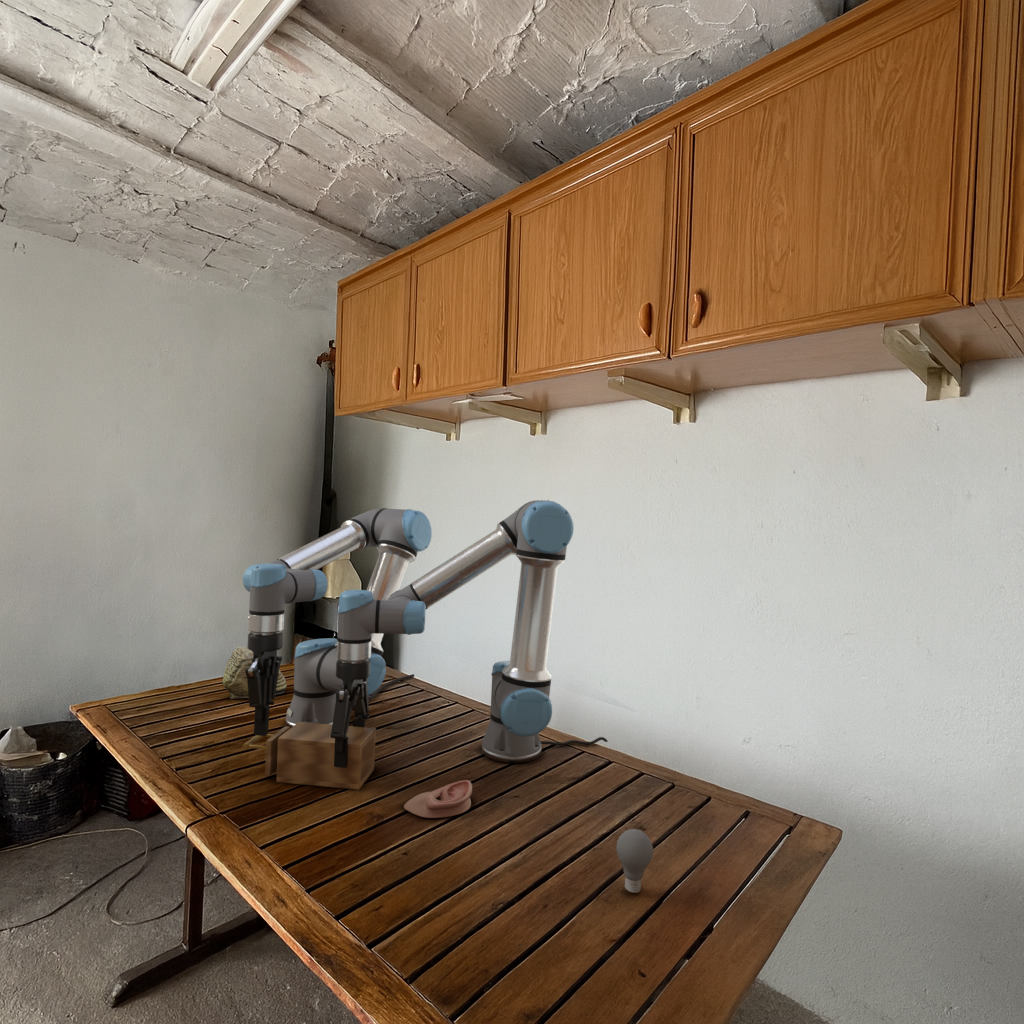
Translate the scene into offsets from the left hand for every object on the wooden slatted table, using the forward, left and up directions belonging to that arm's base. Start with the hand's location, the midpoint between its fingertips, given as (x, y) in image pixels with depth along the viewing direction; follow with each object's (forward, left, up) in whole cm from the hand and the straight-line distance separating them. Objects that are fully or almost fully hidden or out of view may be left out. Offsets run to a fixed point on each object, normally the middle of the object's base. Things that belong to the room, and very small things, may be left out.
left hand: (260, 734), depth 145 cm
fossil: (-27, -51, -8) cm, 58 cm away
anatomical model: (-16, +42, -8) cm, 45 cm away
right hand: (-12, +17, -3) cm, 21 cm away
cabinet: (-9, +13, -8) cm, 18 cm away
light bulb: (-18, +86, -8) cm, 88 cm away
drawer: (-5, +8, -7) cm, 12 cm away
